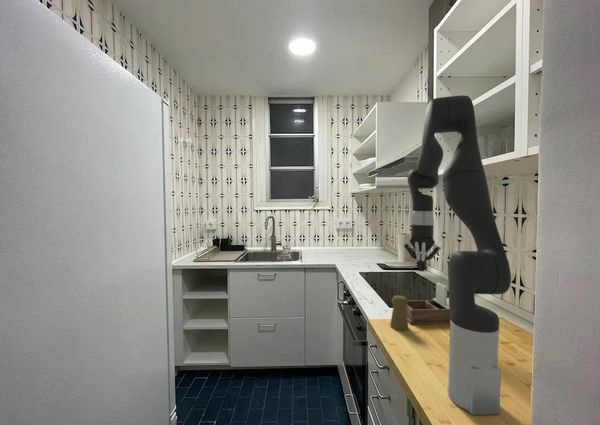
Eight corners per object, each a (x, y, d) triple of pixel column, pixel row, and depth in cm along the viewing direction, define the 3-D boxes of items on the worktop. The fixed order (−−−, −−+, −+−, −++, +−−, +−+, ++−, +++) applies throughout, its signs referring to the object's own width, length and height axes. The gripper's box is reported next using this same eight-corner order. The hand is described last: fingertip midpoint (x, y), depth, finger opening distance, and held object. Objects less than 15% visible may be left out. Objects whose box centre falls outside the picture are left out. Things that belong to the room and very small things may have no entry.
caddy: (475, 323, 105) (476, 310, 105) (410, 324, 104) (410, 310, 104) (456, 311, 117) (456, 299, 117) (397, 312, 116) (397, 299, 116)
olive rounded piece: (410, 331, 99) (411, 299, 98) (393, 330, 99) (393, 299, 98) (404, 323, 105) (405, 293, 104) (388, 323, 105) (388, 293, 105)
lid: (473, 309, 106) (473, 288, 106) (447, 309, 105) (448, 288, 105) (456, 299, 116) (456, 280, 116) (432, 299, 116) (433, 281, 116)
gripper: (400, 223, 107) (399, 269, 107) (438, 224, 98) (437, 275, 98) (408, 222, 112) (407, 266, 113) (444, 224, 104) (444, 272, 104)
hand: (421, 270), depth 105 cm, fingers closed
